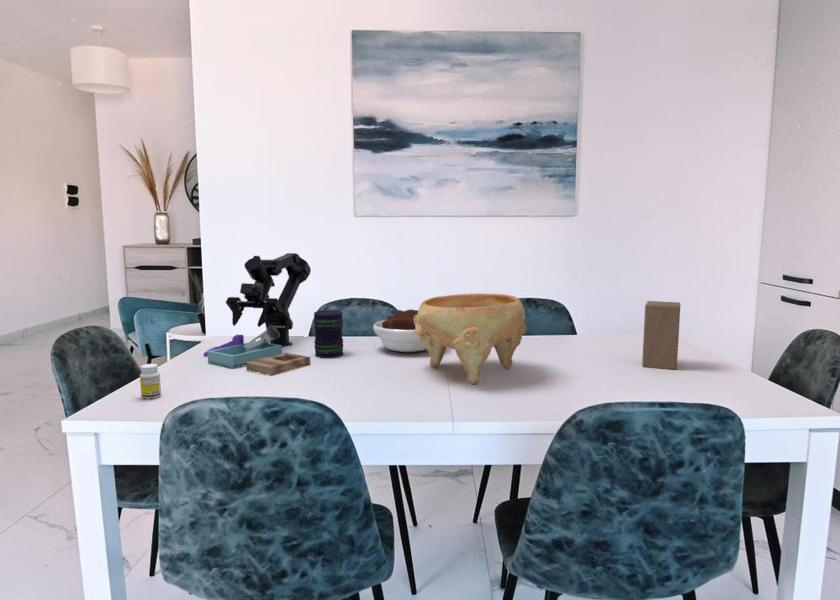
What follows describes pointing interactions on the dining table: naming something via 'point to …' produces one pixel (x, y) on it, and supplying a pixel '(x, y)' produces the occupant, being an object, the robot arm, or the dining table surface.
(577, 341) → the dining table surface
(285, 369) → the block
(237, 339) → the bracket
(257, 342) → the pin
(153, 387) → the supplement bottle
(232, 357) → the tray
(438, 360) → the decorative bowl
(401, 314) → the white bowl of pudding
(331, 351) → the storage jar
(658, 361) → the wooden block
